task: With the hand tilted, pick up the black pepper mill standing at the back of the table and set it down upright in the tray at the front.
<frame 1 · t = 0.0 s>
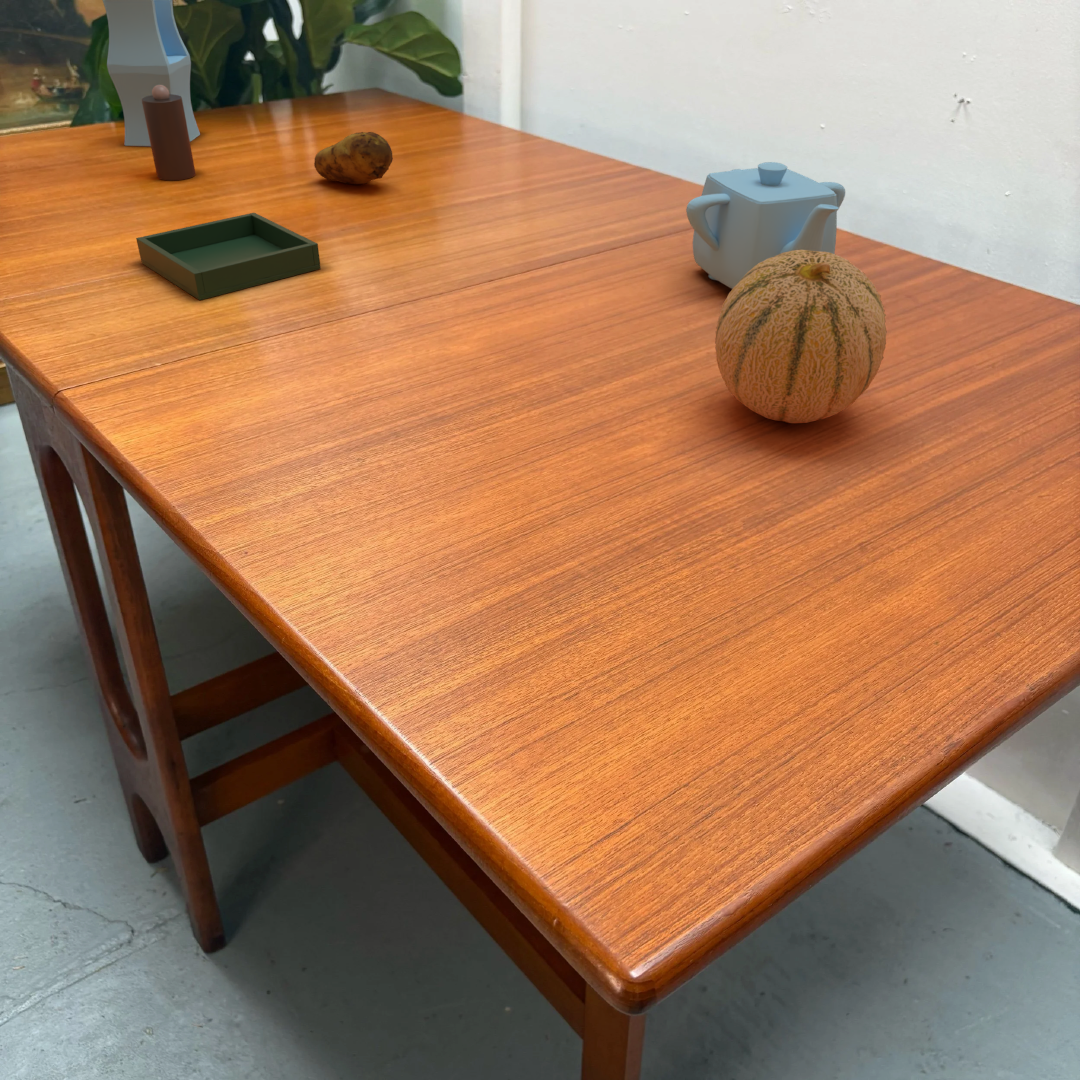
pepper mill: (176, 175, 154), on the table
cantaloupe: (786, 414, 93), on the table
potato: (356, 187, 151), on the table
teapot: (764, 289, 118), on the table
tray: (230, 266, 123), on the table
vase: (164, 140, 172), on the table
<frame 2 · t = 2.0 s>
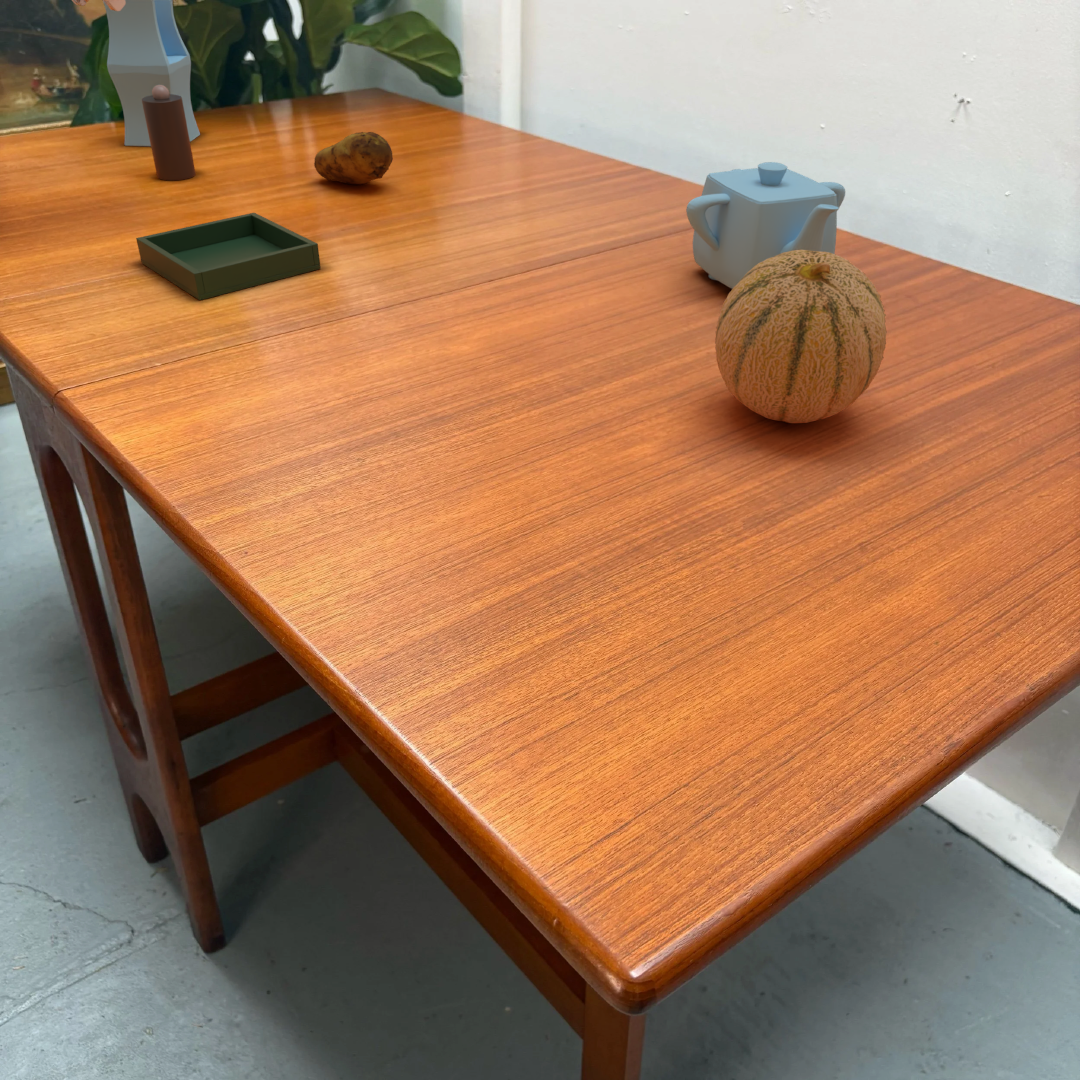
hand: (102, 4, 130), 25 cm above the table, tool tilted 35°, fingers open, 8 cm apart
nothing on the table moved.
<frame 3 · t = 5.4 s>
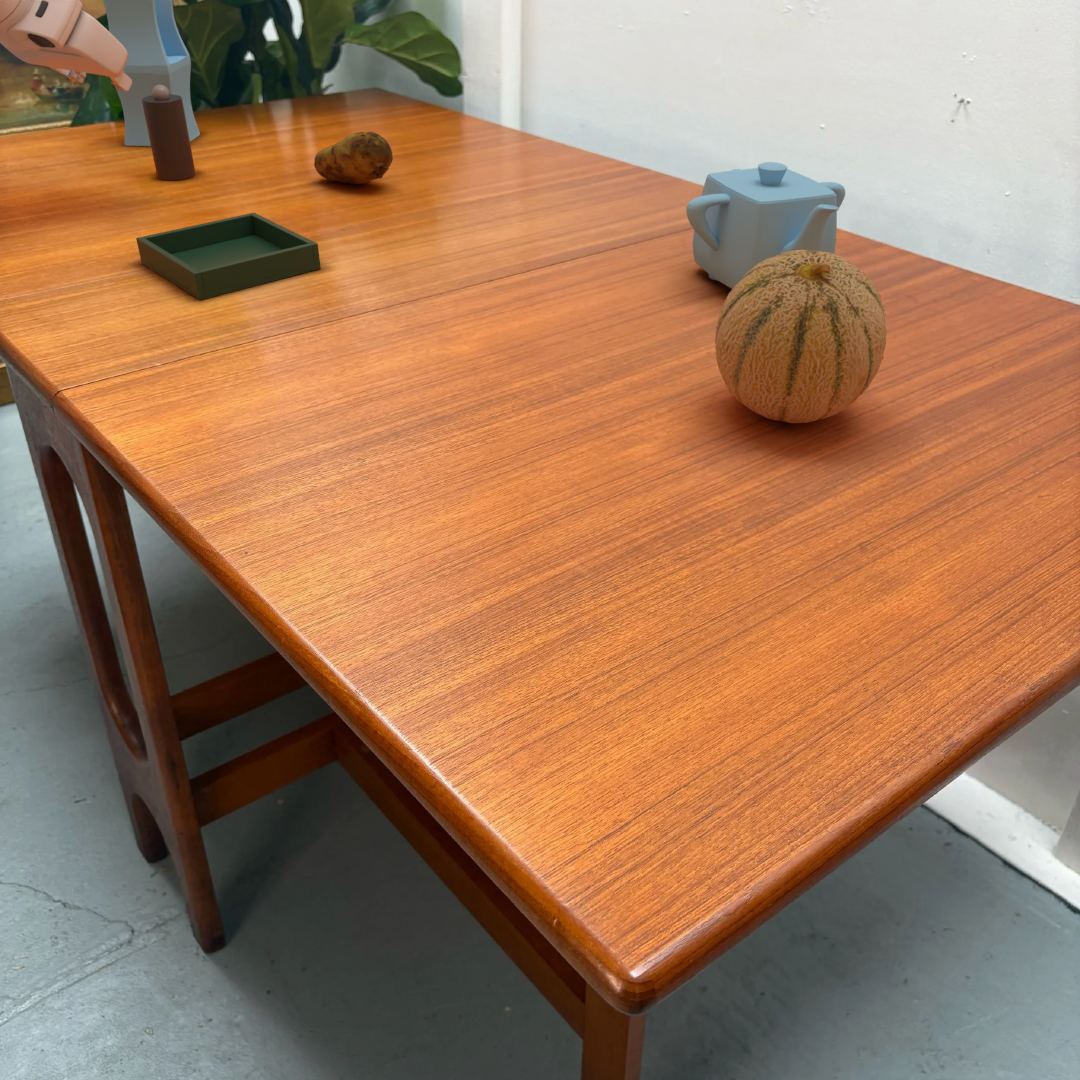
hand: (104, 82, 139), 15 cm above the table, tool tilted 45°, fingers open, 8 cm apart
nothing on the table moved.
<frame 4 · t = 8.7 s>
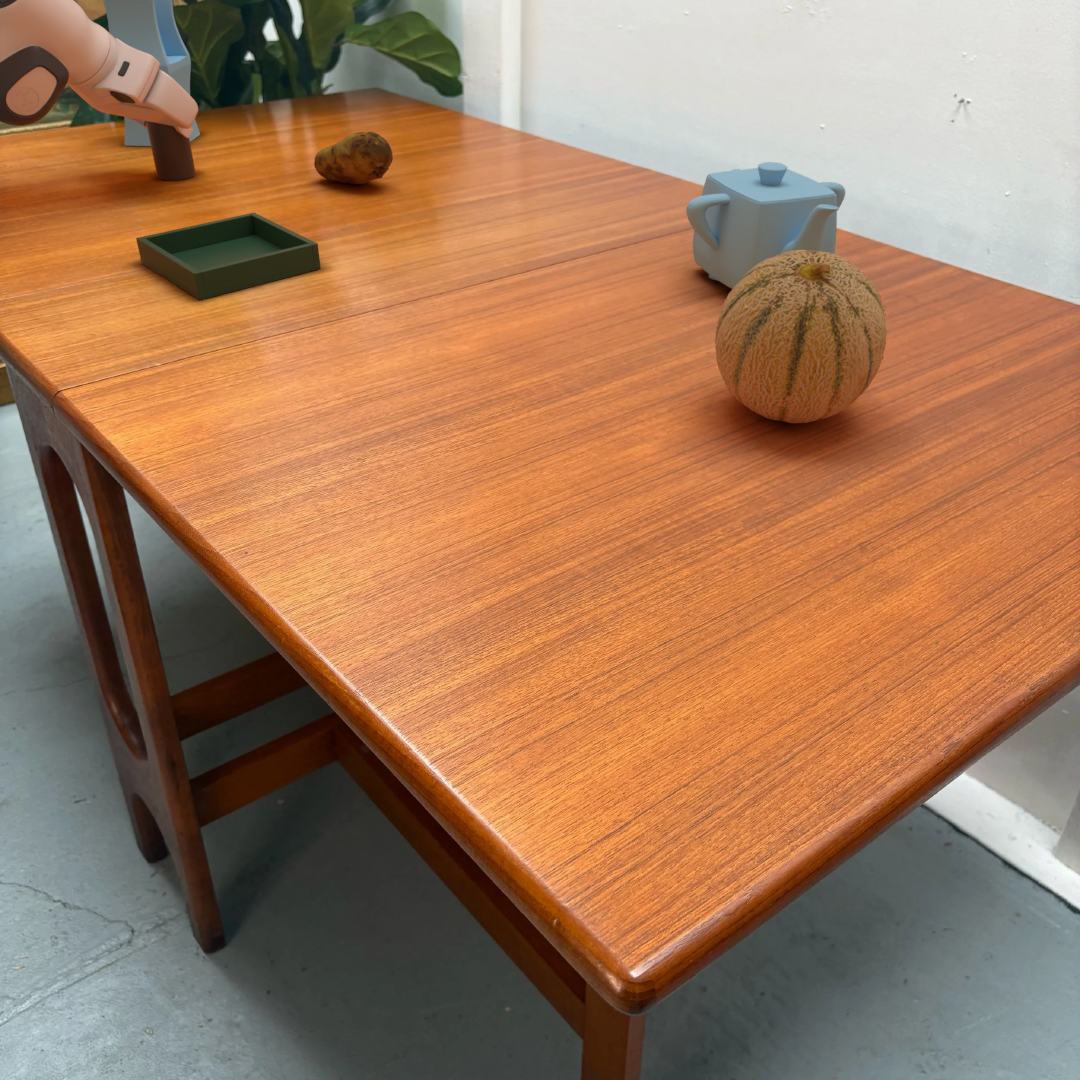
hand: (171, 130, 151), 6 cm above the table, tool tilted 45°, fingers closed on pepper mill, 5 cm apart
pepper mill: (176, 175, 154), on the table, touching gripper
everything else where it was.
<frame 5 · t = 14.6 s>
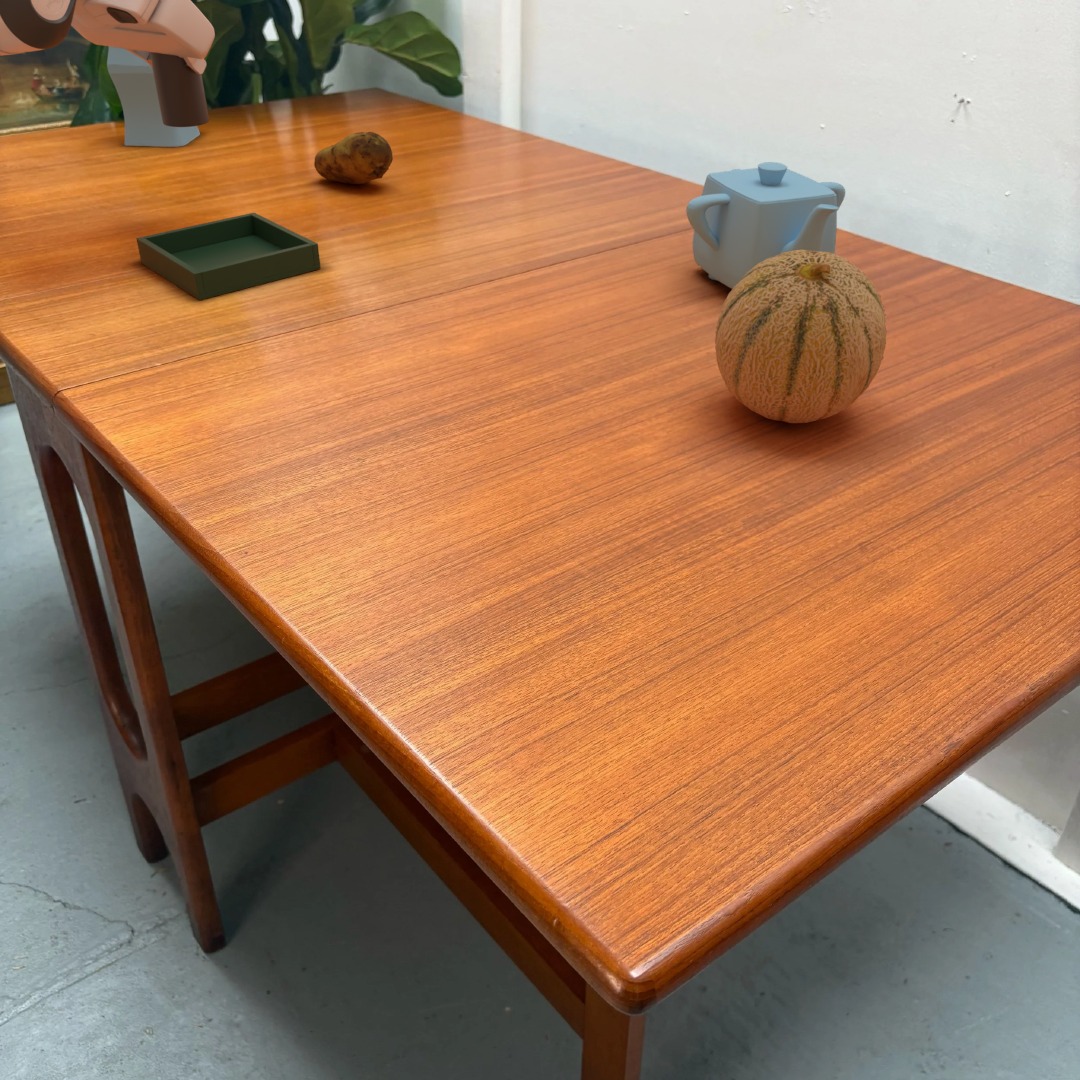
hand: (180, 66, 125), 19 cm above the table, tool tilted 45°, fingers closed on pepper mill, 5 cm apart
pepper mill: (186, 122, 128), point 13 cm above the table, touching gripper
everything else where it was.
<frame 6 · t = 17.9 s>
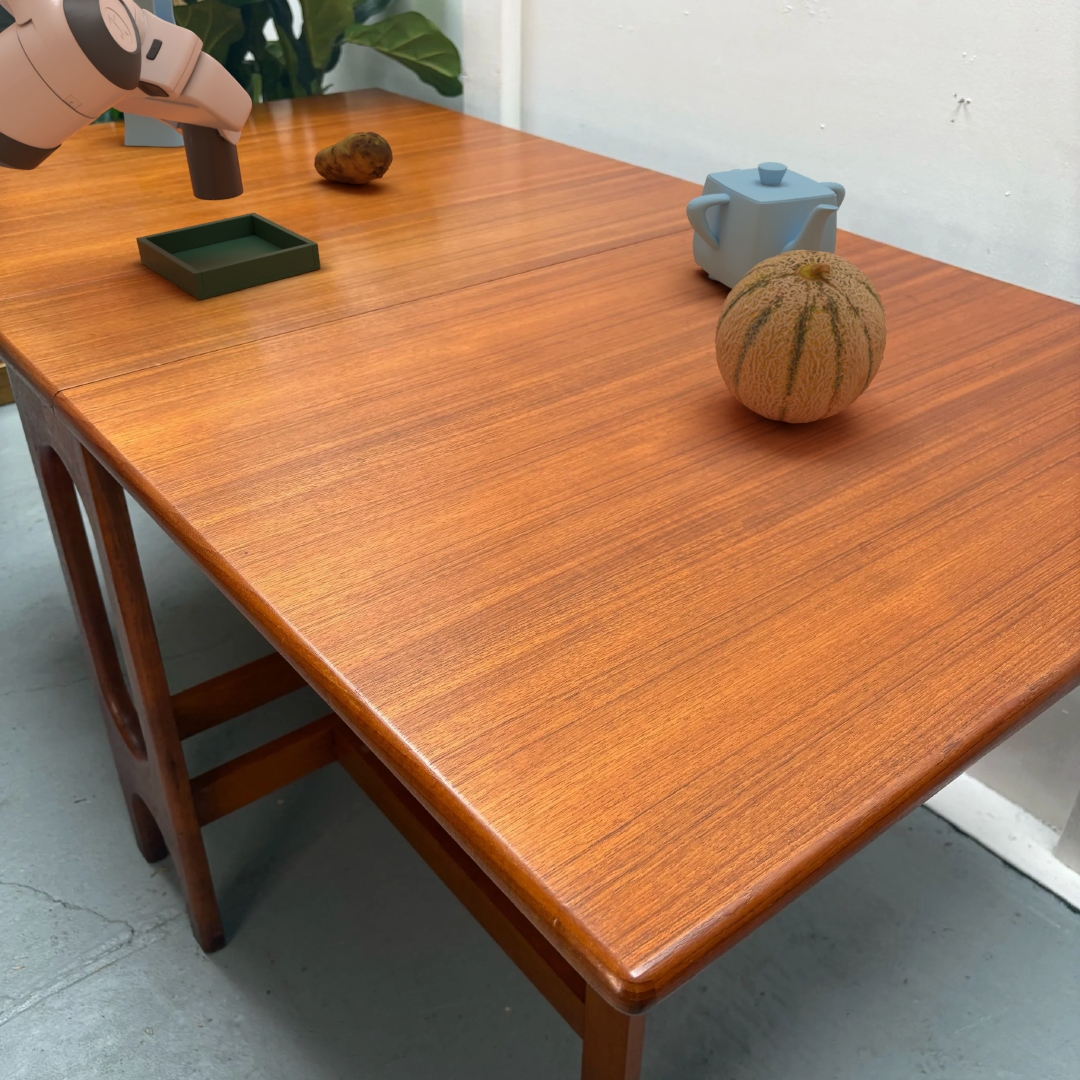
hand: (212, 134, 115), 15 cm above the table, tool tilted 45°, fingers closed on pepper mill, 5 cm apart
pepper mill: (218, 193, 118), point 9 cm above the table, touching gripper
everything else where it was.
when the fingers open (7 cm above the table, at t = 20.6 s): pepper mill stays where it is, resting on tray.
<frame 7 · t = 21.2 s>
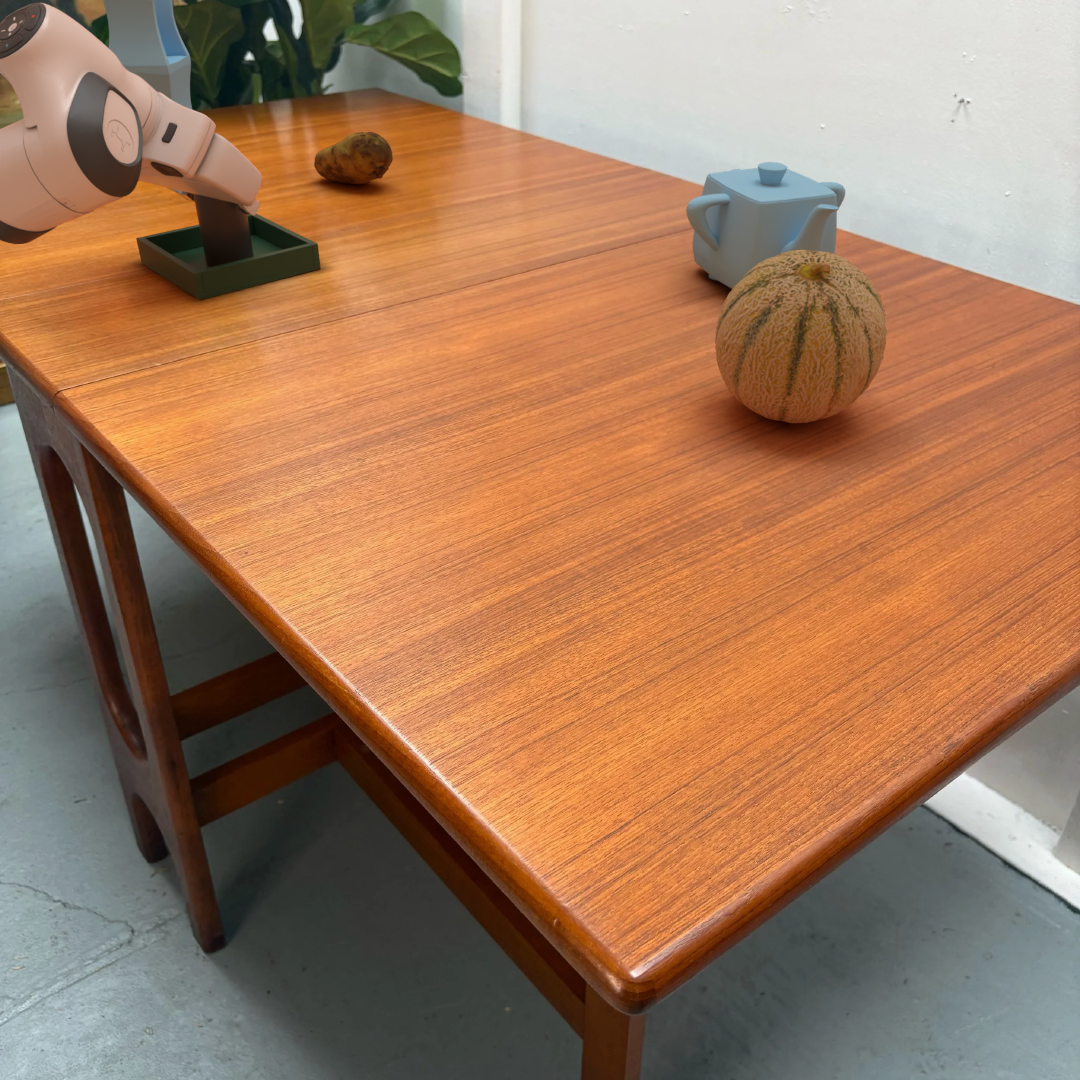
hand: (223, 202, 119), 7 cm above the table, tool tilted 45°, fingers open, 8 cm apart
pepper mill: (230, 261, 122), point 1 cm above the table, touching tray
everything else where it was.
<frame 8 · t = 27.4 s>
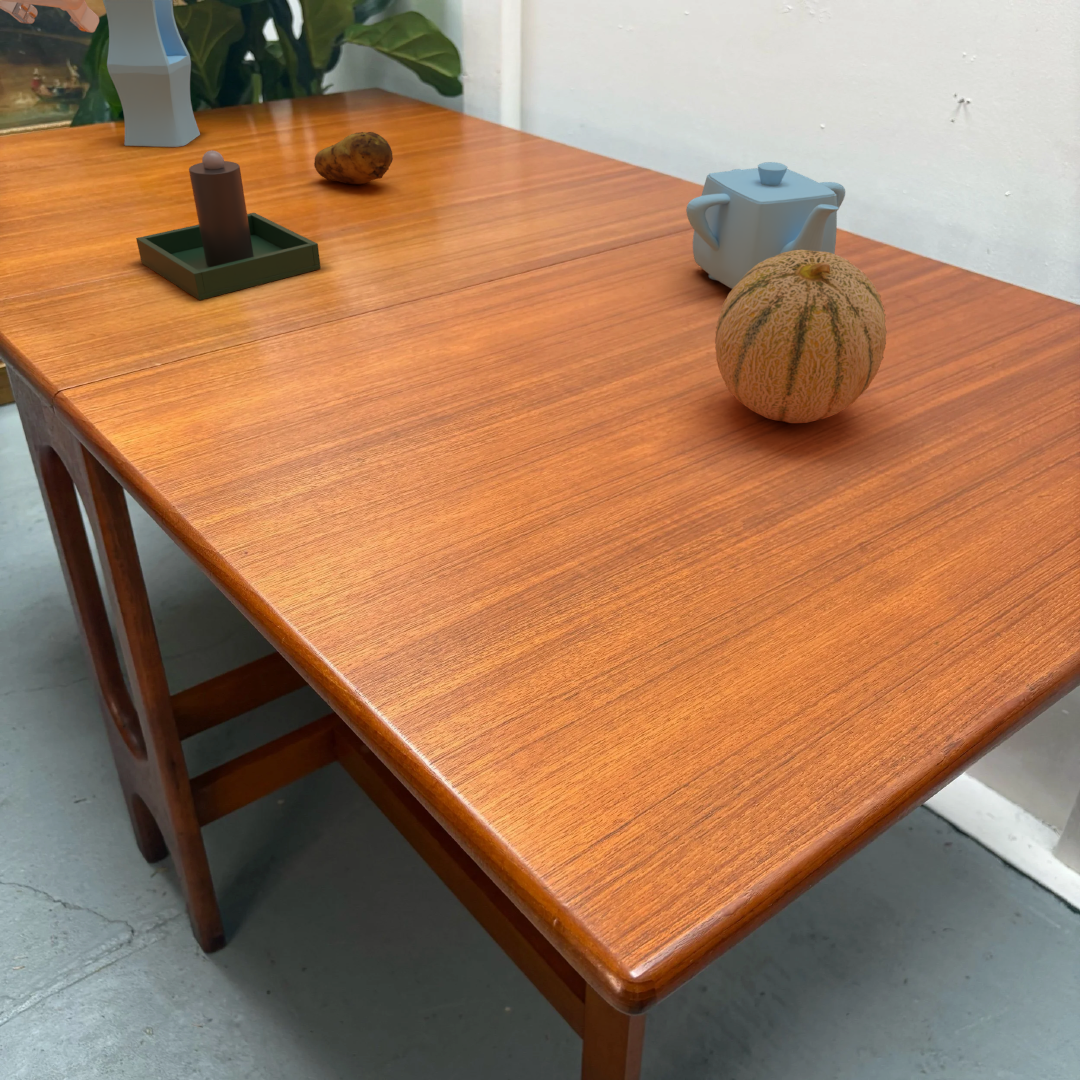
hand: (61, 21, 102), 27 cm above the table, tool tilted 45°, fingers open, 8 cm apart
nothing on the table moved.
at the end: pepper mill inside the target area in the tray (0.1 cm from its centre), point 0.6 cm above the tray's base; pepper mill tilted 0°; the gripper is holding nothing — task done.
